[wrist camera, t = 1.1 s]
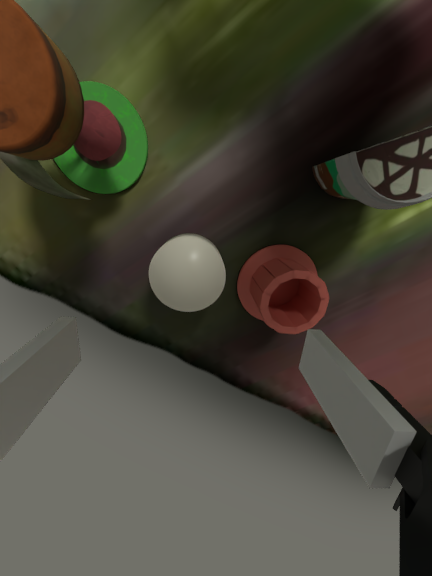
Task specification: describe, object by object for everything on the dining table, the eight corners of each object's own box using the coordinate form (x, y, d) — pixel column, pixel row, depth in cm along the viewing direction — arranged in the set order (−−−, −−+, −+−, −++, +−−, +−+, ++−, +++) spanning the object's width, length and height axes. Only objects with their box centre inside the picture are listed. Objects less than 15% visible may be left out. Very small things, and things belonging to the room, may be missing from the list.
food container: (308, 221, 30) (356, 228, 21) (299, 171, 28) (347, 153, 19) (403, 190, 30) (498, 182, 20) (401, 136, 28) (505, 99, 18)
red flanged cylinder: (243, 240, 31) (254, 249, 24) (323, 248, 31) (355, 259, 25) (232, 316, 34) (239, 343, 27) (305, 322, 35) (328, 349, 28)
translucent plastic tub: (96, 40, 23) (-68, -217, 9) (173, 159, 27) (140, 109, 13) (11, 116, 25) (-239, -2, 11) (95, 218, 29) (-10, 231, 15)
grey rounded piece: (161, 227, 30) (149, 234, 23) (224, 234, 30) (230, 242, 24) (159, 287, 32) (148, 309, 25) (217, 292, 33) (221, 314, 26)
